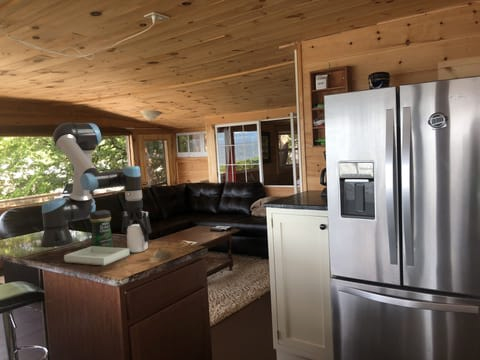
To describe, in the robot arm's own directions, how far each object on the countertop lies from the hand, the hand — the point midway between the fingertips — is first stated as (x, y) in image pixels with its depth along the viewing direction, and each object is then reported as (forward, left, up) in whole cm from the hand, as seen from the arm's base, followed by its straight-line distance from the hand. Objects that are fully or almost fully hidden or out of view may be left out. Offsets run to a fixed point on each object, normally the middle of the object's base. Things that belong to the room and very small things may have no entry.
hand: (137, 248), depth 181 cm
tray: (-10, -15, -1) cm, 18 cm away
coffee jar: (-22, +1, -2) cm, 22 cm away
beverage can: (0, 0, -1) cm, 1 cm away
